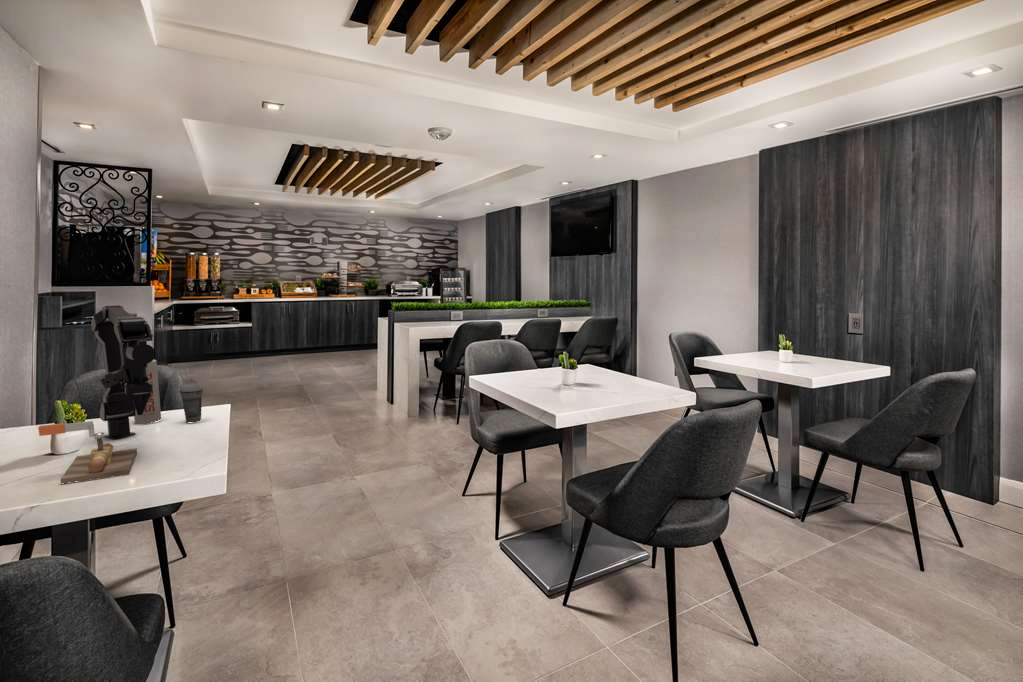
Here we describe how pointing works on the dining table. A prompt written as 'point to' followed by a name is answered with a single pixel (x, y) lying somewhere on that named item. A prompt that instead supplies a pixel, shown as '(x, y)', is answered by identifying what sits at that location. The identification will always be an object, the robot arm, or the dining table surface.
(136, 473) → the dining table surface
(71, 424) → the valve lever
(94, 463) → the valve stand
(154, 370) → the thermos bottle
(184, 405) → the beverage cup
